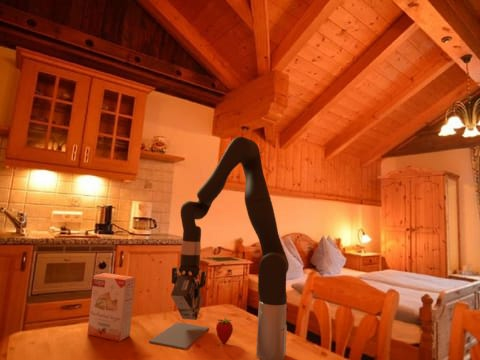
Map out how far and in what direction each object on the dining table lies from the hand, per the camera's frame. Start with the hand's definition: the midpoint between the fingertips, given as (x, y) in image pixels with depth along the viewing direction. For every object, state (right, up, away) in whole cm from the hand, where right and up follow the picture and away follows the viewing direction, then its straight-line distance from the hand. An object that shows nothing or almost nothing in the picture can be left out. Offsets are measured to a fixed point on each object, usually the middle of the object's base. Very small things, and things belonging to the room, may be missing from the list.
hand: (187, 296), depth 115 cm
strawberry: (+14, -13, -10) cm, 22 cm away
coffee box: (+1, -7, +5) cm, 9 cm away
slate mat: (-2, -13, -4) cm, 13 cm away
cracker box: (-27, -11, -8) cm, 30 cm away
